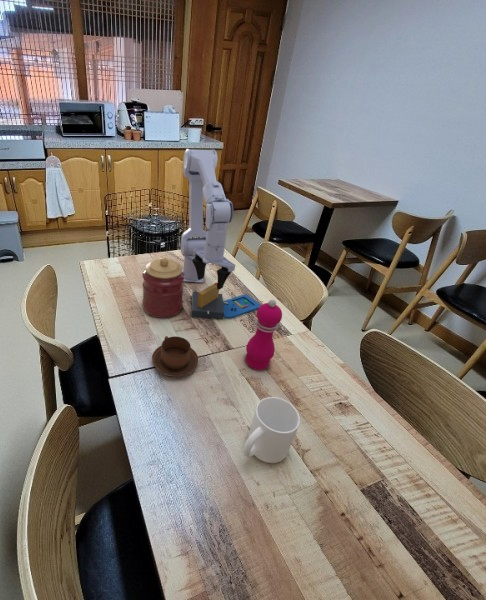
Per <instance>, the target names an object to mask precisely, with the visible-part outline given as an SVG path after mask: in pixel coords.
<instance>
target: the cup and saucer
mask: <svg viewBox="0 0 486 600" xmlns="http://www.w3.org/2000/svg"><path fill="white" fill-rule="evenodd" d="M151 359H152V364H153V366H154V368H155V369H156V370H157V371H158V372H160V373H161V374H164V375H166V376H169V377H183V376H187V375H189V374H191V373H192V372H194V371H195V370H196V368H197V367H198V365H199V356H198V354H197V352H196V351H195V349H193V347H192V346H191V343H190V341H188V340H187V339H186V338H184V337H181V336H167V335H165V336H164V340H163V341H162V343H161V345H160V346H157V348H156V349H155V350H154V351H153V353H152V356H151Z"/></svg>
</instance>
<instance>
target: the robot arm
mask: <svg viewBox="0 0 486 600" xmlns="http://www.w3.org/2000/svg"><path fill="white" fill-rule="evenodd" d="M218 157H219V156H218V153H217V151H216V149H189V148H186V150H185V151H184V153H183V159H182V160H183V162H182V163H183V177H185V178H186V179H188V184H189V185H188V189H189V190H188V191H189V194H188V195H189V196H188V197H189V199H188V208H189V209H188V219H189V222H188V227H189V228H187V230H185V231H184V232H183V233H182V234H181V237H180V254H181V255H182V256H183V267H182V268H183V273H184V275H185V279H184V281H183V283H184V282H185V283H198V284H203V283H204V277H205V273H206V267H207V265H209V264H211V265H215V266H218V267H221V268H219V269H217V270H216V274H217V282H216V283H217V289H218V290H219V291H220V290H222V289H223V288H224V285H225V283H226V281H227V280H228V278H229V276H230V275H231V274H232V273H233V272H235V270H236V264H235V263H233V262H232V261H230V260H229V259H227V257H225V256H224V254H225V247H226V240H227V234H228V227H229V224H230V223H231V222H232V221H233V218H234V206H233V202H232V201H231V200H229V198H226V195H225V192H224V188H223V185H222V184H221V182H219V181H217V177H216V168H217V166H218V161H219V160H218V159H219V158H218ZM204 202H205V206H206V207H205V227H206V230H204Z"/></svg>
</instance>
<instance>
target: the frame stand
mask: <svg viewBox="0 0 486 600" xmlns="http://www.w3.org/2000/svg"><path fill="white" fill-rule="evenodd" d="M199 292H200V291H192V292H191V299H187V301H189V302H191V318H202V319H203V318H204V319H213V320H224V306H223V301H224V299H223V293H219V295H218V298H216V299H215V300H213V301H211V302H210V303H208V304H207V305H205V306H203V307H202V308H200V307H198V306H197V301H198V293H199ZM224 303H227V302H224ZM227 304H228V303H227Z"/></svg>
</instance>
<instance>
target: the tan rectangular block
mask: <svg viewBox="0 0 486 600" xmlns="http://www.w3.org/2000/svg"><path fill="white" fill-rule="evenodd" d="M198 292H199V293H198V301H197V306H198V307H200V308H202V307H203V306H205V305H207V304H208V303H210V302H211V301H213V300H215V299H216V298H218V295H219V294H220V290H218V289H217V282H215V283H213V284H211V285H210V286H208V287H206V288H204V289H202V290H201V291H198Z"/></svg>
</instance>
